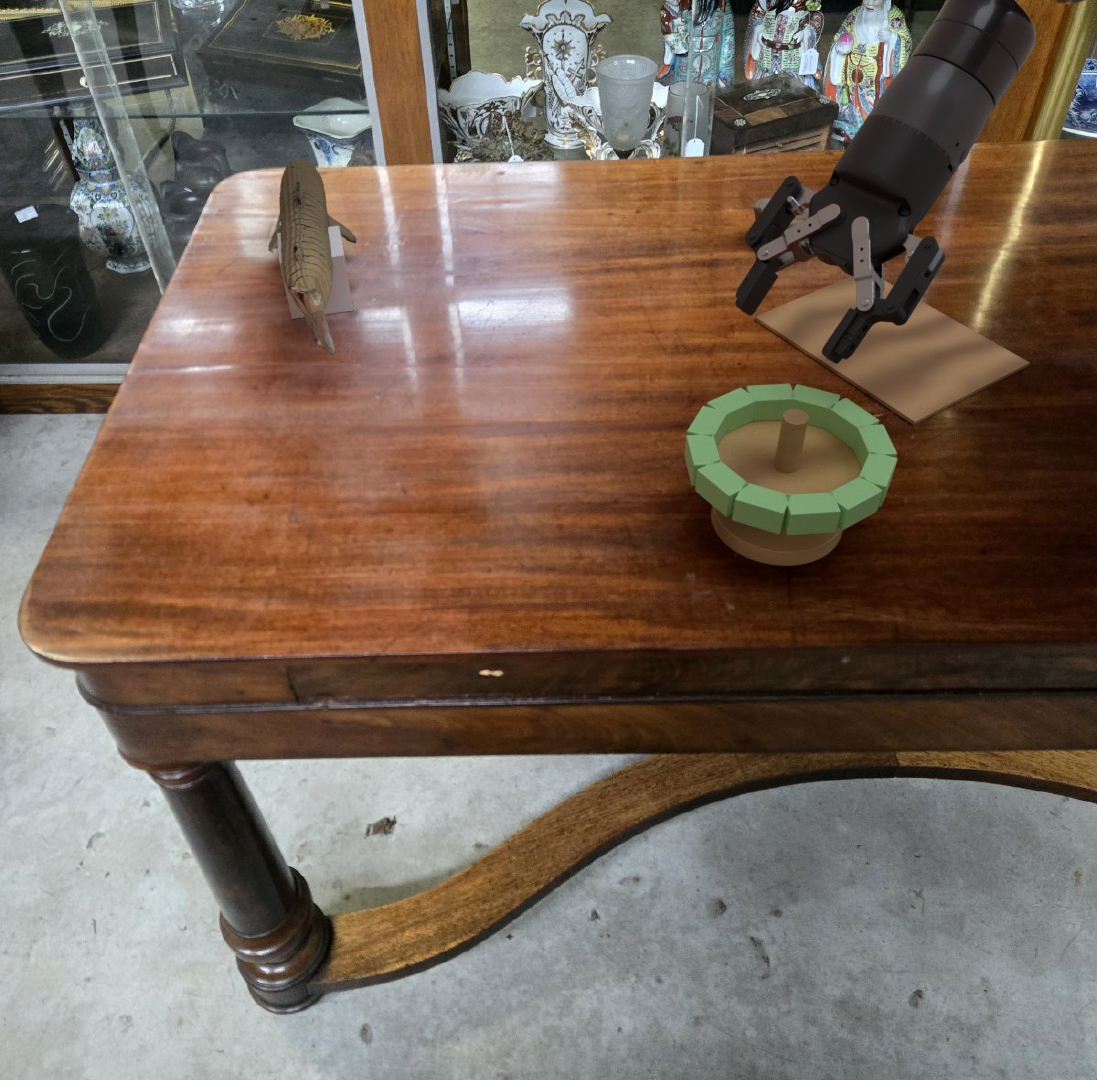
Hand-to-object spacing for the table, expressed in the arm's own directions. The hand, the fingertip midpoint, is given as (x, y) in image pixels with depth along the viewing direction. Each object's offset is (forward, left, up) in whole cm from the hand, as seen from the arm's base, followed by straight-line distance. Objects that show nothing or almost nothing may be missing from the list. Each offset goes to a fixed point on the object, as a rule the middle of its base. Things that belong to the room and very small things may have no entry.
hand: (784, 334), depth 78 cm
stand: (-7, +5, -11) cm, 14 cm away
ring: (-7, +5, -5) cm, 10 cm away
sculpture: (+24, -29, -11) cm, 39 cm away
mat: (+5, -20, -11) cm, 23 cm away
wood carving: (+41, +21, -11) cm, 47 cm away
